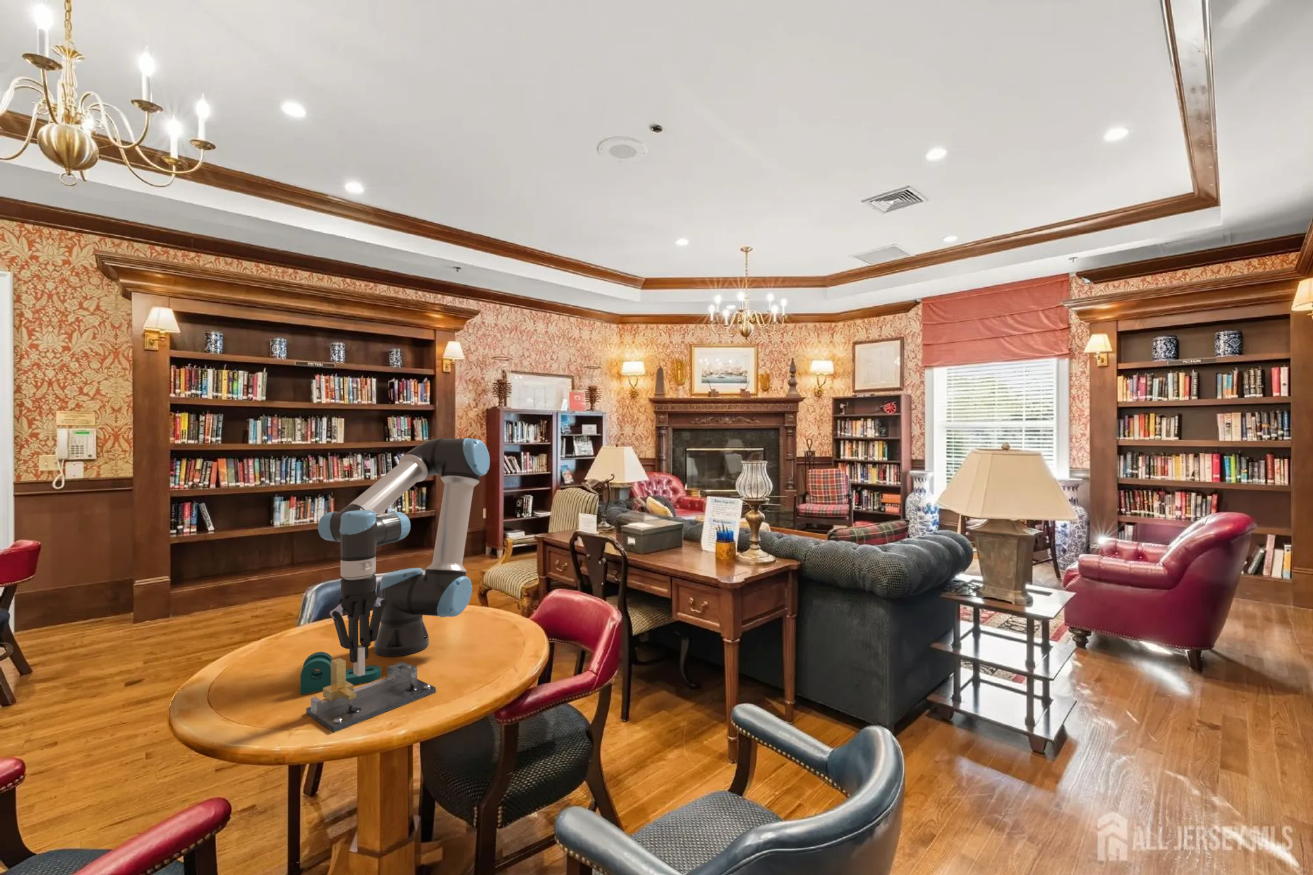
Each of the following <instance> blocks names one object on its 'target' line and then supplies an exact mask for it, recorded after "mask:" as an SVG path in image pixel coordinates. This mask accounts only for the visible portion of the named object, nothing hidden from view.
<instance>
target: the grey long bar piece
mask: <svg viewBox="0 0 1313 875" xmlns="http://www.w3.org/2000/svg"><path fill="white" fill-rule="evenodd" d="M386 669H387V671H386V672H387V674H386V675H387V677H383V678H380V679H378V680H375V681H373V682H369V683H365V684H363V685H361V686H357V687H355V688H353V689H354V692H355V693H356V698H354V699H353V701H355V700H358V699H360V698H363V697H366V696H369V695H372V694H374V693H377V692H380V691H383V690H385V689H388V688H391V687H394V686H397V685H399V684H402V683H405V682H408V681H410V689H414V680H416V679H418V667H417V666H415V665H413V664H408V663H406V662H404V661H401V662H398V663H394V664H393V665H392V664H391V665H389V666H387V668H386ZM346 703H349V700H348V699H346V698H344V697H342V698H339V699H336V700H333V701H329V700H328V699H326V698H325V697H324V698H323V699H320V698H318V697H317V696H313V697H310V707H311V712H312V713H314V714H315V715H319V714H321V712H324V711H327V710H330V709H333V708H335V707H338V706H341V705H344V704H346Z"/></svg>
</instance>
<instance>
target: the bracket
mask: <svg viewBox="0 0 1313 875" xmlns="http://www.w3.org/2000/svg"><path fill="white" fill-rule="evenodd" d="M331 660H334V659H333V657H332V656H331V654H330V653H327V652H326V651H325V652H324V651H317V652H314V653H312V654H310V655H308V656H307V658H305V660H304V662H303V666H302V669H301V673H300V683H299V684H300V695H306V694H313V693H318V692H323V688H324V687H328V686H331ZM381 677H382V667H381V666H380V665H377V664H371V665H365V675H362V676H357V675H355V674H353V667H351V668H346V681H347V682H349V683H351V684H353V686H356V685H358V686H359V685H362V684H363V685H365V684H369V683H372V682H375V681H378V680H380V679H381Z"/></svg>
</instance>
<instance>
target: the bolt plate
mask: <svg viewBox="0 0 1313 875" xmlns="http://www.w3.org/2000/svg"><path fill="white" fill-rule="evenodd" d="M435 693H437V687H435V686H434V685H432V684H430V683H428V682H425V681H423V680H421V679H418V678H417V679H416V680H414V689H410V681H408V682H405V683H402V684H399V685H397V686H394V687H391V688H388V689H385V690H383V691H380V692H377V693H374V694H372V695H369V696H366V697H363V698H360V699H358V700H355V701H353V710H352V711H349V703H346V704H344V705H341V706H338V707H335V708H333V709H330V710H327V711H324V712H321V714H319V715H315V714H314V713H312V712H311V706H309V707H306V708H305V714H306V715H307V716H308V717H311V718H312V719H314V720H315V721H316V722H318V723H320V724H321V725H322V726H324V727H325V728H327V729H328V730H330V731H331V732H333V733H336V732H338V731H341V730H345V729H347V728H349V727H350V726H353V725H356V724H359V723H361V722H364V721H366V720H369V719H371V718H374V717H376V716H380V715H382V714H384V713H387V712H389V711H392V710H394V709H397V708H399V707H403V706H405V705H407V704H410V703H412V702H416V701H417V700H420V699H422V698H425V697H428V696H430V695H433V694H435Z"/></svg>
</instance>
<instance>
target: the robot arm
mask: <svg viewBox="0 0 1313 875" xmlns="http://www.w3.org/2000/svg"><path fill="white" fill-rule="evenodd" d="M490 460H491V458H490V453H489V451H488V447H487V445H486V444H485V443H484V442H483V441H482V440H480V439H477V438H469V437H465V438H464V437H463V438H434V439H430V440H428V441H425V442H423V443H420V444H418V445H417V446H415V447H413V448H412V449H411V450H409V451H407V452H406V453H405V454H404V455H402V456H401V458H399V461H398V464H397V465H395V466H394V467H393V468H391V469H390V471H388V472H387V473H385V475H383V476H382V477H381V478H380V479H378V480H377V481H376V482H374V484H372V485H371V486H370V487H369V488H367V489H366V490H365V491H363V493H361V494H360V495H358V497H356V498H355V499H354V500H352V502H350V503H349V504H348V505H347V506H346V507H344V508H343V509H341V510H340V511H329V512H326V513H324V514H323V515H322V516H321V517H320V519H319V521H318V524H317V525H318V526H317V531H318V534H319V536H320V538H322V539H323V540H325V541H331V542H337V543H340V576H341V577H342V578H341V579H340V600H339V601H338V605H337V606H336V607H335V608H334V609H329V611H328V615H329V616H330V618H332V620H333V623H334V626H335V627H334V628H335V631H336V634H337V637H338V641H339V644H340V647H342V648H344V649H345V650H349V662H351V663H352V666H353V667H352V668H353V674H355V675H357V676H362V675H365V666H366V659H367V660H368V658H369V647H371V645H372V642H374V643H373V652H374V654H375V655H378V656H380V657H381V656H382V657H400V656H407V655H411V654H414V653H415V654H416V653H417V652H421V651H422V650H424V649H426V648H427V647H429V643H430V637H429V636H430V635H429V633H428V631H427V628H426V625H425V621H424V619H423V616H427V617H428V616H431V617H440V618H447V617H448V618H453V617H458V616H459V615H461V614H462V613H463V612H464V611H465V609H467V607H468V605H469V603H470V601H471V597H472V593H473V585H472V581H471V579H470V578H469V577H468V576H467V569H466V568H465V567H464V565H463V562H464V556H465V548H466V541H467V533H468V528H469V523H470V515H471V508H472V500H473V494H474V488H475V487H476V486H477V485H479V484H480V480H481V477H483V476H485V475H487V473H488V471H489V470H490V463H491V461H490ZM437 475H439V476H440V480H441V481H442V482H443V484H444V487H443V488H444V489H443V494H442V501H441V506H440V511H439V512H440V514H439V519H438V525H437V531H436V536H435V544H434V550H433V557H432V562H431V564H430V565H428V566H427V567H426V568H425V572H424V571H423V569H422V568H420V567H411V568H405V569H400V570H395V571H391V572H388V573H386V574H384V575H383V576H382V577H381V579H380V589H379V597H378V593H377V591H376V590H377V576H376V575H375V573H376V571H377V570H376V569H377V567H376V566H377V559H376V558H377V557H376V556H377V550H376V549H377V547H379V546H383V545H388V544H391V543H396V542H399V541H401V540H403V539H405V538H406V537H407V536H409V533H410V531H411V520H410V518H409V516H407V515H406V514H405V513H403V512H400V511H395V512H394V511H391V512H387V513H384V512H385V511H386V510H387V509H388V508H389V507H391V505H392V504H394V503H395V502H396V501H397V500H398V499H399V498H401V497H402V496H404V494H406V492H407V491H408V490H410V488H412V486H414V485H415V484H416V483H419V482H423V481H424V480H426V479H427V478H428V477H431V476H437ZM373 606H374V607H373ZM372 608H373V609H372ZM371 609H372V613H371ZM343 612H344V613H346V614H347V615H346V616H347V619H348V620H347V623H348V624H347V625H348V629H347V627H346V624H345V620H344V618H343V614H344V613H343ZM370 617H371V619H370ZM347 630H348V631H347Z"/></svg>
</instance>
